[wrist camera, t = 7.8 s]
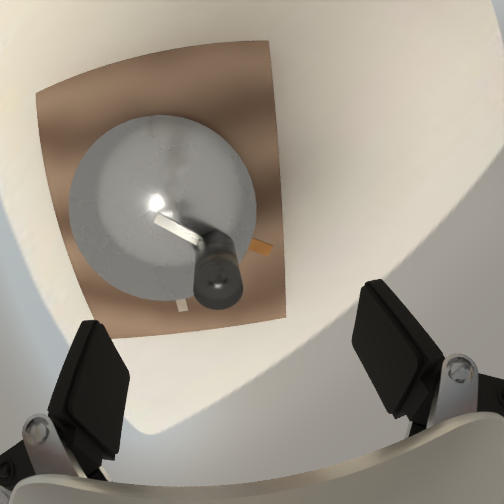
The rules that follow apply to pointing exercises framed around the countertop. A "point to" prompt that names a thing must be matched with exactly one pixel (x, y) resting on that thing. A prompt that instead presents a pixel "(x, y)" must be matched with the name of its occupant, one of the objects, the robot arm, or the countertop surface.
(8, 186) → the countertop surface
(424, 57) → the countertop surface
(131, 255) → the dial
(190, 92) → the dial board
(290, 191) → the countertop surface
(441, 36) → the countertop surface
